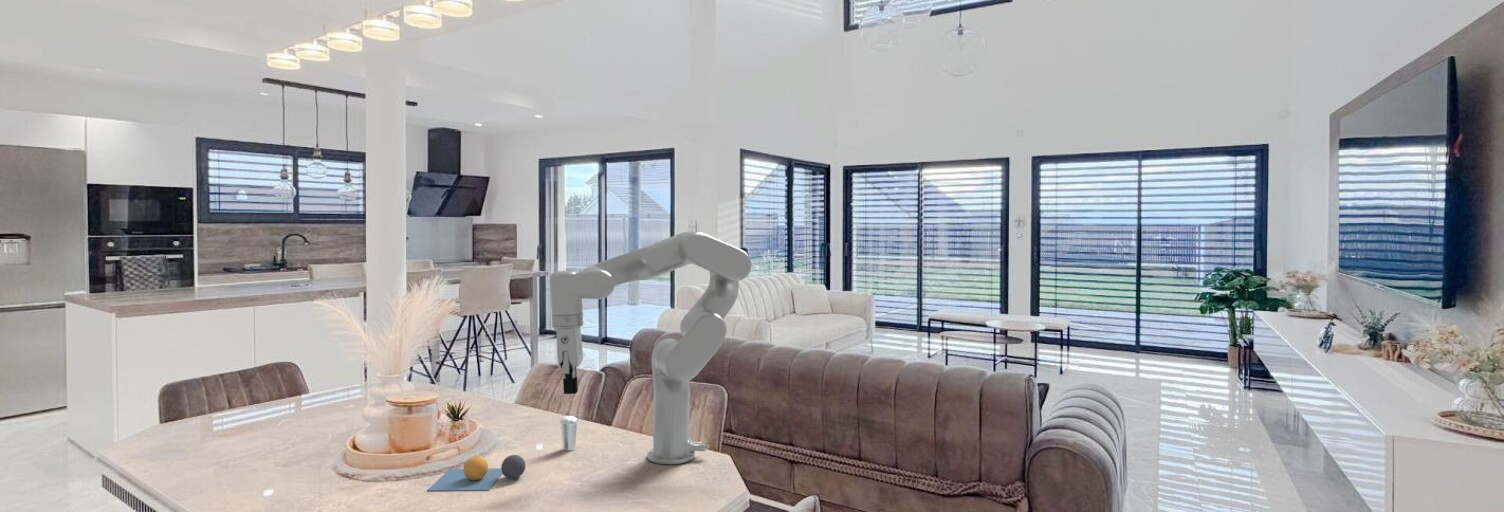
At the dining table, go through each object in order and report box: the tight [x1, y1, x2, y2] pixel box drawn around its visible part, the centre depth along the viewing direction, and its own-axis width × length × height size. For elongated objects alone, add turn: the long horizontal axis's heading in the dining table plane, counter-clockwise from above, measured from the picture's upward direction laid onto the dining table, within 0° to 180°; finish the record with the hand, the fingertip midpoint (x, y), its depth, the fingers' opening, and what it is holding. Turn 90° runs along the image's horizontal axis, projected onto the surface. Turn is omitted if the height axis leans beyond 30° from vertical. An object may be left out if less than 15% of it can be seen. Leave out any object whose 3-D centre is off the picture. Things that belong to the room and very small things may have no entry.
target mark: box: [426, 467, 503, 492], centre depth 170 cm, size 14×14×1 cm
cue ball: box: [500, 454, 526, 480], centre depth 171 cm, size 6×6×6 cm
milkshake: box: [560, 414, 580, 452], centre depth 193 cm, size 4×5×10 cm
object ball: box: [462, 455, 489, 480], centre depth 170 cm, size 6×6×6 cm
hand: (570, 392), depth 176 cm, fingers closed
